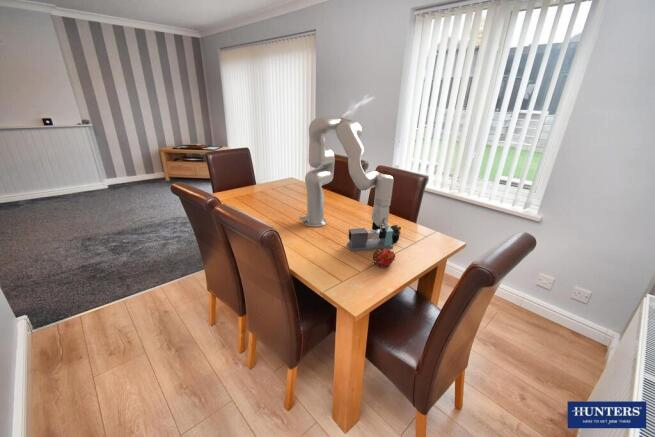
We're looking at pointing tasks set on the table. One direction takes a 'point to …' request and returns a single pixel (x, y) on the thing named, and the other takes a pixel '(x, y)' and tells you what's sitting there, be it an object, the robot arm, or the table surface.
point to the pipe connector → (394, 233)
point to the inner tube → (373, 234)
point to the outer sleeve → (358, 237)
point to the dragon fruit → (383, 257)
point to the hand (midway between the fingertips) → (378, 233)
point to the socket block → (387, 237)
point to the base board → (370, 246)
